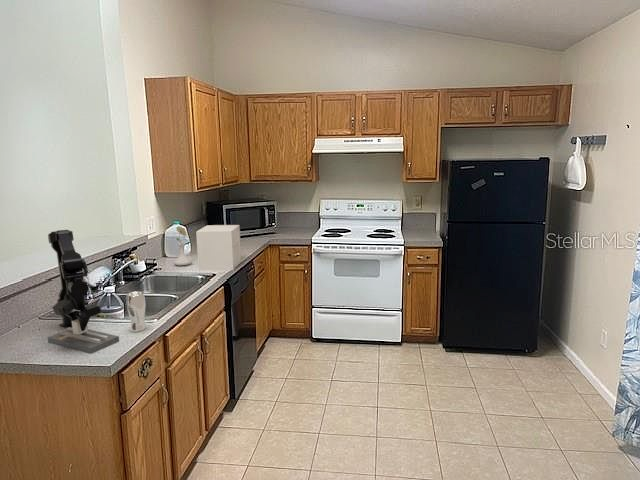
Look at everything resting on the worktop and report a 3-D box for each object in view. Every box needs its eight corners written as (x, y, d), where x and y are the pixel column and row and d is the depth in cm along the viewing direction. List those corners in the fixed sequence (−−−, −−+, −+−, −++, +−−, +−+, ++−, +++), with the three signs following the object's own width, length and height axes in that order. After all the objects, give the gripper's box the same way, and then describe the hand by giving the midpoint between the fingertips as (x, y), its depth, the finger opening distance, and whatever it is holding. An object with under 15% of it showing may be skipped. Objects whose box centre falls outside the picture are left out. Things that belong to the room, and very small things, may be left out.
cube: (233, 270, 279) (231, 231, 274) (198, 271, 279) (196, 231, 275) (241, 261, 303) (239, 224, 299) (209, 261, 304) (207, 225, 299)
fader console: (48, 342, 173) (47, 334, 173) (77, 331, 184) (76, 323, 183) (91, 353, 163) (90, 345, 162) (119, 341, 173) (118, 333, 173)
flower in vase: (194, 265, 292) (192, 226, 287) (177, 267, 286) (174, 228, 281) (188, 261, 303) (185, 224, 298) (170, 263, 296) (168, 225, 292)
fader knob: (73, 336, 172) (71, 321, 171) (82, 332, 176) (81, 317, 175) (78, 337, 171) (76, 322, 170) (88, 333, 175) (86, 318, 173)
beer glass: (149, 325, 189) (146, 290, 186) (144, 332, 182) (140, 296, 179) (132, 326, 189) (129, 291, 186) (126, 332, 182) (123, 296, 179)
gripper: (38, 293, 167) (43, 333, 170) (72, 299, 159) (77, 341, 162) (66, 285, 177) (71, 323, 180) (100, 291, 169) (104, 331, 172)
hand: (80, 329), depth 173 cm, fingers closed on fader knob, 3 cm apart
